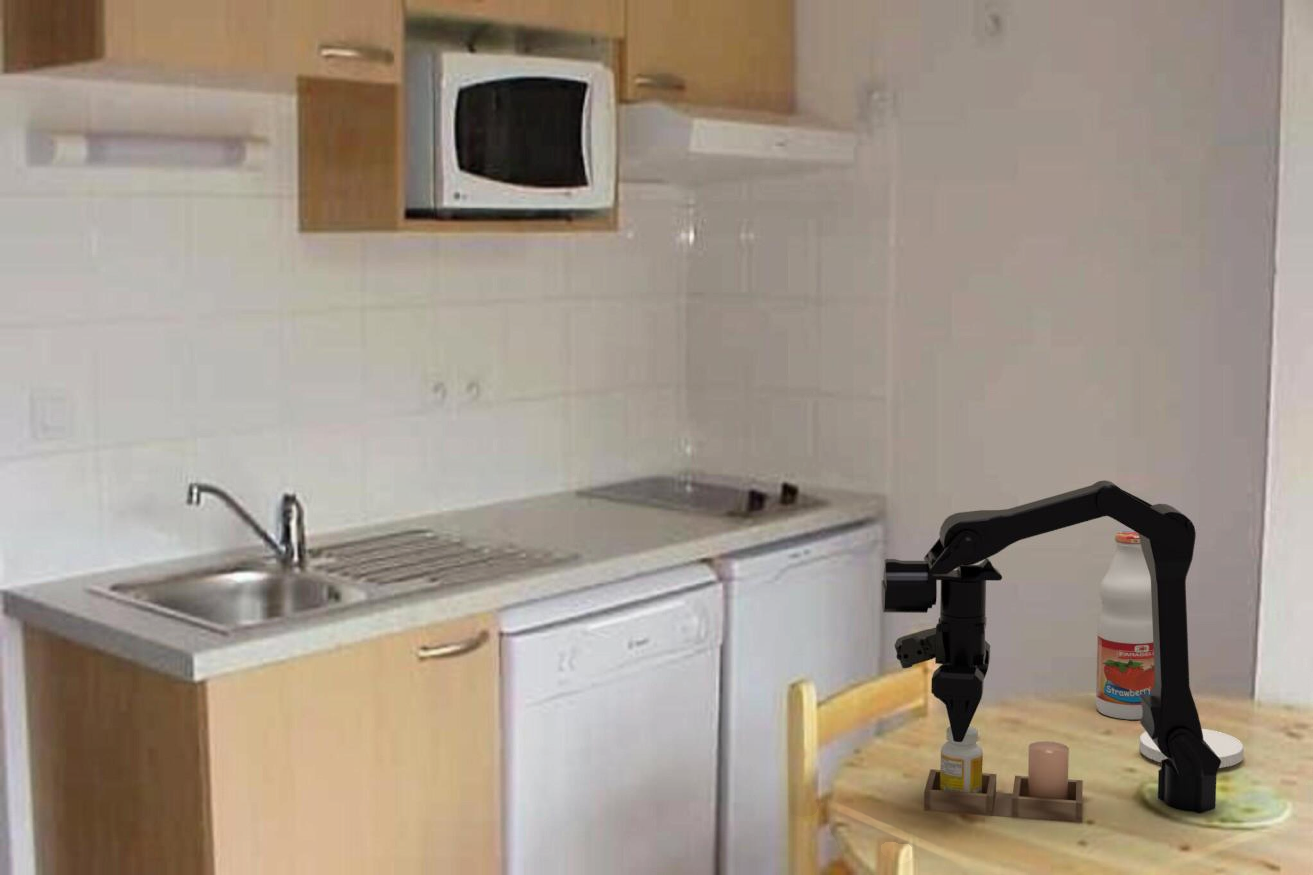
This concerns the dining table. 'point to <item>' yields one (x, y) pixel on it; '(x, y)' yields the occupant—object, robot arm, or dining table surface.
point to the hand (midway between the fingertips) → (960, 730)
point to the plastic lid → (1217, 741)
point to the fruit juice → (1125, 632)
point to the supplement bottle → (961, 763)
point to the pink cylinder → (1048, 770)
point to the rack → (1004, 800)
